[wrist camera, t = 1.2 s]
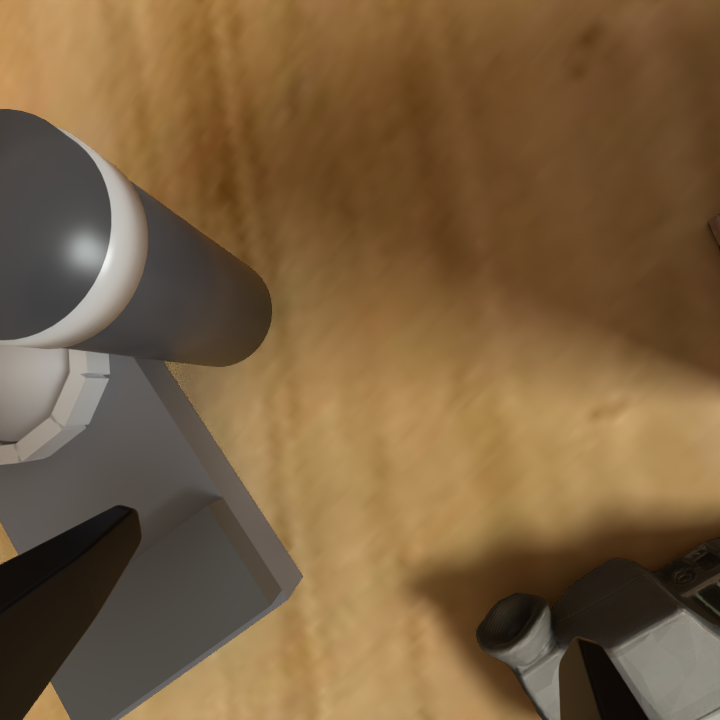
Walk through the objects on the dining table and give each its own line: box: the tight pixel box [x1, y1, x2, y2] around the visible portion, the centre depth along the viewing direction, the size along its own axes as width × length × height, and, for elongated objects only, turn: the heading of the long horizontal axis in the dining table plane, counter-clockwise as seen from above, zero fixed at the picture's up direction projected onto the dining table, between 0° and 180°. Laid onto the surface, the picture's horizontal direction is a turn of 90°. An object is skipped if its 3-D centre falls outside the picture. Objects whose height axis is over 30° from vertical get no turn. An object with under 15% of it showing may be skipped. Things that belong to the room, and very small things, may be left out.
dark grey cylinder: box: [0, 109, 272, 367], centre depth 18 cm, size 6×6×13 cm
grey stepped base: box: [0, 344, 303, 720], centre depth 22 cm, size 11×23×4 cm, turn 36°
